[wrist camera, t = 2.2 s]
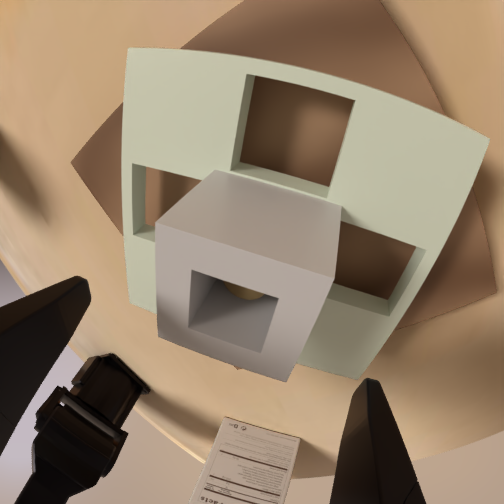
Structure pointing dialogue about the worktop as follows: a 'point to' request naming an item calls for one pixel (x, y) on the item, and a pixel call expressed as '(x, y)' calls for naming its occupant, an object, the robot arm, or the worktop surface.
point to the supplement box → (246, 466)
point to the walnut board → (314, 140)
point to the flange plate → (278, 213)
